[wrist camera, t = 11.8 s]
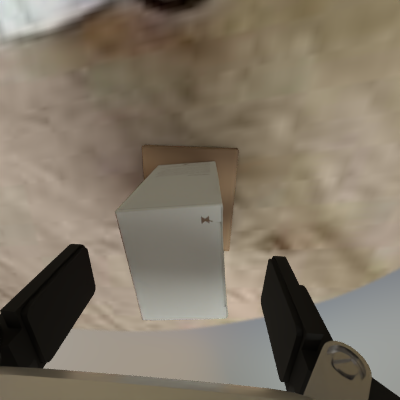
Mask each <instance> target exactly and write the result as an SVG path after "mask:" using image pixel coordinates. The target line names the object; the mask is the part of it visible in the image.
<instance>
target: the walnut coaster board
mask: <svg viewBox="0 0 400 400" xmlns="http://www.w3.org/2000/svg"><path fill="white" fill-rule="evenodd" d="M238 153H239V150H238V149H237V148H212V147H185V146H159V145H144V146H142V158H143V173H144V180H145V179H146V178H147V177H148V176H149V175H150V174H151V173H152V172H153V170H154V169H155V168H156V167H157V166H158V165H170V164H184V163H198V162H212V161H215V163H216V168H217V173H218V179H219V186H220V192H221V199H222V204H223V248H224V251H229V246H230V236H231V225H232V215H233V205H234V194H235V184H236V174H237V163H238Z"/></svg>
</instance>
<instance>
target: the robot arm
mask: <svg viewBox="0 0 400 400" xmlns="http://www.w3.org/2000/svg"><path fill="white" fill-rule="evenodd" d="M94 292H95V282H94V277H93V273H92V268H91V263H90V259H89V254H88V250H87V248H85V246H84V245H81V244H70V245H69V246H68V247H67V248H66V249H65V250H64V251H62V252H61V253H60V254H59V255H58V256H57V257H56V258H55V259H54V260H53V261H52V262H51V263H50V264H49V265H48V266H47V267H46V268H45V269H43V270H42V271H41V272H40V273H39V274H38V275H37V276H36V277H35V278H34V279H33V280H32V281H31V282H30V283H29V284H28V285H27V286H25V287H24V288H23V289H22V290H21V291H20V292H19V293H18V294H17V295H16V296H15V297H14V298H13V299H12V300H11V301H10V302H9V303H8V304H6V305H5V306H4V307H3V308H2V309H1V310H0V311H1V314H0V400H400V397H398V396H397V395H396V394H394V393H393V392H392V391H390V390H389V389H387V388H386V387H385V386H383V385H382V384H380V383H379V382H378V381H376V380H375V379H373V378H372V376H371V370H370V368H369V365H368V364H367V362H366V361H365V359H364V358H363V357H362V356H361V355H360V354H359V353H358V352H357V351H356V350H354V349H353V348H352V347H350V346H348V345H346V344H344V343H341V342H338V341H333V339H332V337H331V336H330V334H329V332H328V330H327V328H326V326H325V324H324V322H323V320H322V318H321V317H320V314H319V312H318V310H317V309H316V307H315V305H314V303H313V301H312V299H311V297H310V295H309V293H308V291H307V289H306V288H305V287H304V286H303V285H299V283H298V281H297V279H296V277H295V275H294V273H293V271H292V269H291V267H290V265H289V263H288V261H287V259H286V257H281V256H273V257H272V259H269V260H268V265H267V270H266V275H265V280H264V286H263V291H262V296H261V306H262V310H263V314H264V318H265V322H266V326H267V330H268V334H269V338H270V342H271V346H272V351H273V354H274V359H275V362H276V367H277V371H278V375H279V379H280V381H281V382H285V386H286V390H287V391H281V390H275V389H269V388H259V387H250V386H241V385H232V384H221V383H210V382H199V381H187V380H177V379H166V378H153V377H141V376H130V375H118V374H106V373H93V372H81V371H67V370H55V369H43V367H44V366H45V364H46V363H47V362H49V361H51V359H52V358H53V356H54V355H55V354H56V352H57V350H58V349H59V347H60V346H61V344H62V343H63V341H64V339H65V338H66V336H67V335H68V333H69V332H70V330H71V329H72V327H73V326H74V324H75V322H76V321H77V319H78V318H79V316H80V315H81V313H82V312H83V310H84V309H85V307H86V305H87V304H88V302H89V301H90V299H91V298H92V296H93V295H94Z"/></svg>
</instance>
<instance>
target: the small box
mask: <svg viewBox="0 0 400 400" xmlns="http://www.w3.org/2000/svg"><path fill="white" fill-rule="evenodd" d="M115 214H116V218H117V222H118V226H119V230H120V234H121V238H122V242H123V245H124V249H125V253H126V257H127V261H128V264H129V269H130V273H131V277H132V281H133V284H134V288H135V292H136V296H137V300H138V304H139V308H140V312H141V316H142V320H193V319H225V318H227V317H228V310H227V299H226V286H225V268H224V248H223V204H222V199H221V192H220V186H219V179H218V173H217V168H216V163H215V161H212V162H198V163H184V164H170V165H158V166H157V167H156V168H155V169H154V170H153V172H152V173H151V174H150V175H149V176H148V177H147V178H146V179H145V180H144V181H143V182H142V183H141V184H140V185H139V186H138V188H137V189H136V190H135V191H134V192H133V193H132V194H131V195H130V196H129V197H128V198H127V199H126V200H125V201H124V202H123V203H122V205H121V206H120V207H119V208H118V209H117V210H116V211H115Z"/></svg>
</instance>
